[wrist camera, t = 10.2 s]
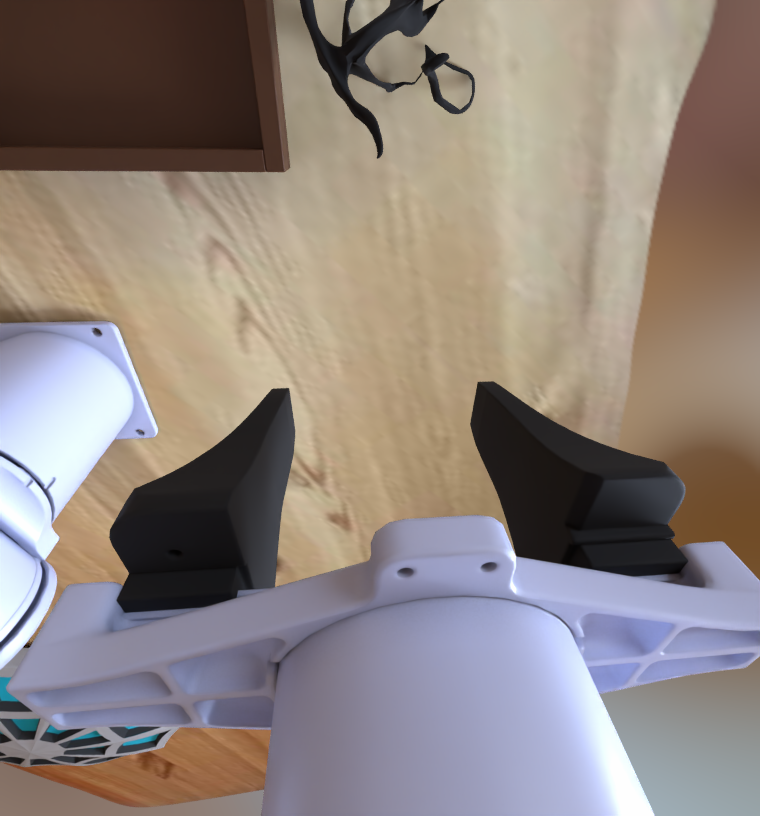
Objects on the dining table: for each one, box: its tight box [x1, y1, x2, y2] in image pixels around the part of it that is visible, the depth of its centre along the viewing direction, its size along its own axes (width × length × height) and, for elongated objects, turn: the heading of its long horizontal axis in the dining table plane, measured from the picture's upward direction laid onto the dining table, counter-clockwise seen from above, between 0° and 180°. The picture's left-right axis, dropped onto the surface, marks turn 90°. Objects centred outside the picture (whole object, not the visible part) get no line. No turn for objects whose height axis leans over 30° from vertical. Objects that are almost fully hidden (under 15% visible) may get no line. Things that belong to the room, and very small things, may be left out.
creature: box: [300, 0, 475, 159], centre depth 14 cm, size 8×5×8 cm
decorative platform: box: [0, 648, 180, 767], centre depth 46 cm, size 31×29×5 cm
